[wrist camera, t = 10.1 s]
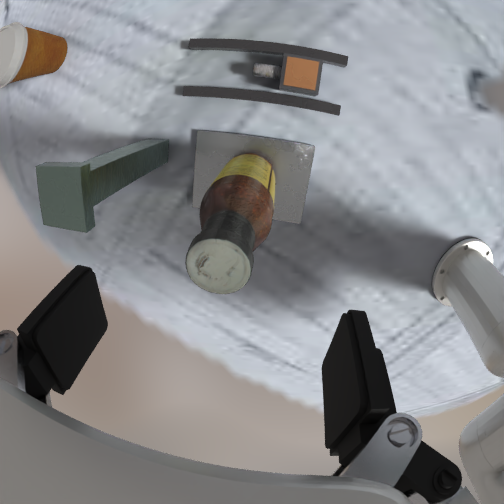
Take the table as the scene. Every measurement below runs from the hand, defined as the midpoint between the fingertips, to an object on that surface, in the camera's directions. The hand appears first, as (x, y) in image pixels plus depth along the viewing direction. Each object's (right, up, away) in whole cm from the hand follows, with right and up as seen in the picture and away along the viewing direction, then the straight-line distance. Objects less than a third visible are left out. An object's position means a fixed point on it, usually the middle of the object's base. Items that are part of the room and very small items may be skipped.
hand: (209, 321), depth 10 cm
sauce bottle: (+1, +11, +24) cm, 27 cm away
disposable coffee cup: (-29, +33, +17) cm, 47 cm away
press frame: (-1, +17, +22) cm, 28 cm away
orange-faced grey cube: (+5, +23, +18) cm, 29 cm away
